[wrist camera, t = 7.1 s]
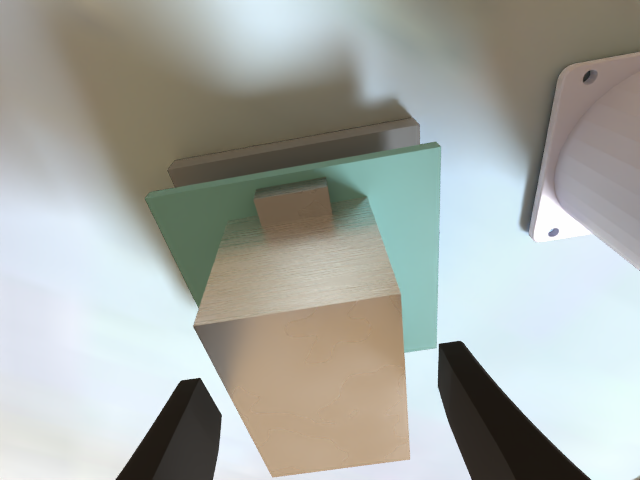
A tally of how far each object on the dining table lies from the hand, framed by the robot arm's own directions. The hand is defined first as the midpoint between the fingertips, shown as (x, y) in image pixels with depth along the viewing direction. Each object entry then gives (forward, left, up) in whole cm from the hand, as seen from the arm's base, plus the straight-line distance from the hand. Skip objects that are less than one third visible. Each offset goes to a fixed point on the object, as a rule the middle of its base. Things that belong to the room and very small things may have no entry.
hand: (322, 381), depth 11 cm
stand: (0, 0, -8) cm, 8 cm away
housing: (0, 0, -4) cm, 4 cm away
